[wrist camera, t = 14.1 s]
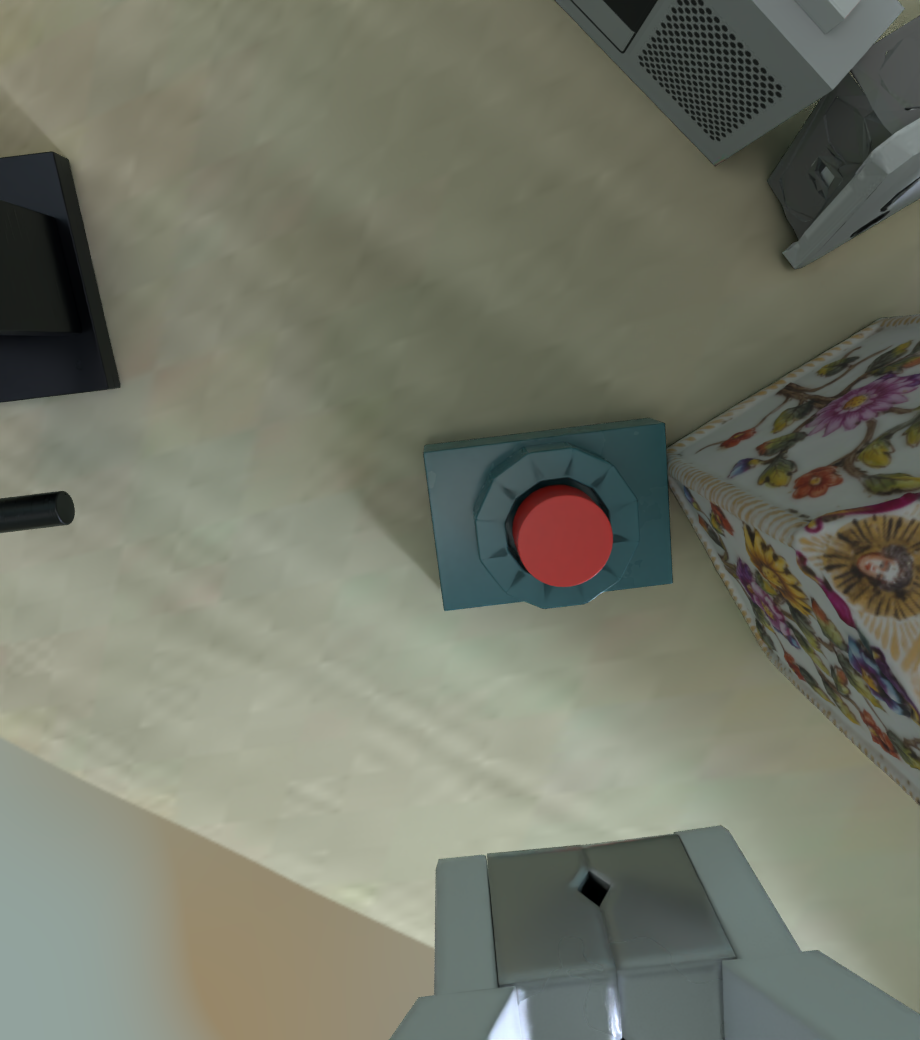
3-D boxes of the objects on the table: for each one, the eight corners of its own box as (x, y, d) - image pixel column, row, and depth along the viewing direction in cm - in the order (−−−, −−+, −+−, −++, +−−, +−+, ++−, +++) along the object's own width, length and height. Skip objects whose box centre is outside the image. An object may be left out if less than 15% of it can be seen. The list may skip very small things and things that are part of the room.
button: (516, 575, 29) (522, 592, 27) (507, 489, 28) (513, 501, 26) (604, 565, 29) (616, 581, 27) (598, 479, 28) (610, 489, 26)
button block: (443, 594, 33) (444, 627, 29) (424, 444, 31) (421, 459, 28) (658, 568, 33) (687, 598, 29) (650, 417, 31) (679, 427, 28)
